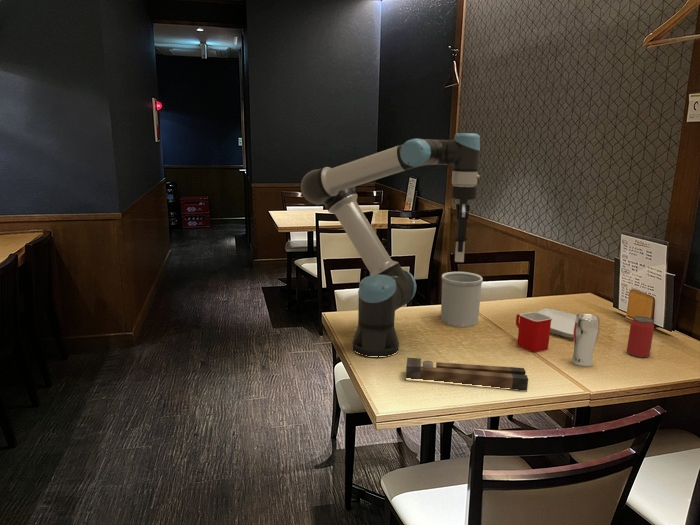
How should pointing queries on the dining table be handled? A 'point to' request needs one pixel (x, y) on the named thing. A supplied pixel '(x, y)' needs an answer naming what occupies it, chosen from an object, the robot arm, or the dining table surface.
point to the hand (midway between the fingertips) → (459, 261)
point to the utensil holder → (460, 298)
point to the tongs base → (464, 375)
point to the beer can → (640, 336)
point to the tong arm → (482, 368)
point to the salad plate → (560, 322)
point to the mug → (533, 331)
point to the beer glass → (585, 338)
